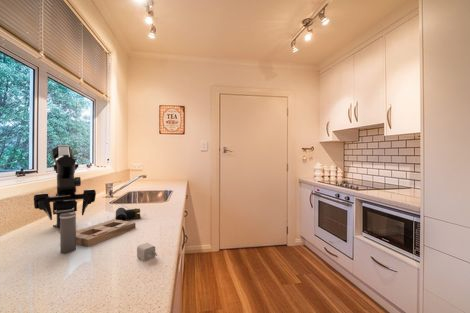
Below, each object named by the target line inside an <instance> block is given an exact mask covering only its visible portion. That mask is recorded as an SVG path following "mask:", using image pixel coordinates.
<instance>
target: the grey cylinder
mask: <svg viewBox="0 0 470 313" xmlns="http://www.w3.org/2000/svg"><path fill="white" fill-rule="evenodd" d="M76 224H77V213H76V211H75V212H68V213H63V214H60V228H59V231H60V232H59V233H60V234H59V236H60V237H59V238H60V241H59V242H60V243H59V244H60V245H59V246H60V249H59V250H60V254H69V253H73V252H75V251H76V250H77V244H76V231H77V225H76Z"/></svg>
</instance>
